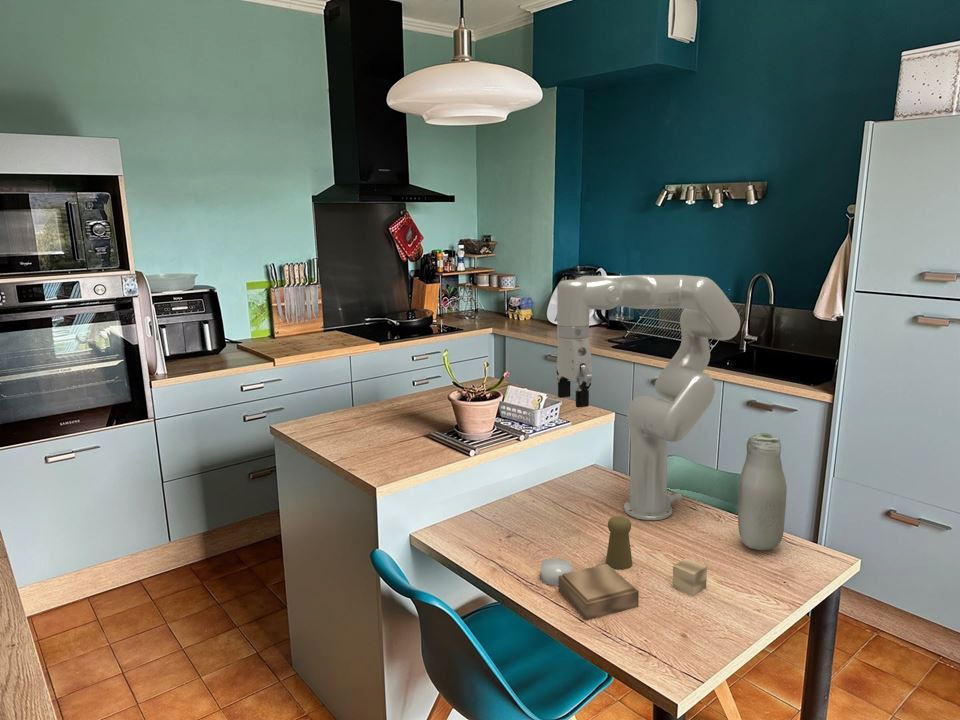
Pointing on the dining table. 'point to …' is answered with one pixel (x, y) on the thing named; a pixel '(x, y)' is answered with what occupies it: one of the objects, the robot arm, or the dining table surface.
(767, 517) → the glass bottle
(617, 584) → the walnut stand
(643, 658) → the dining table surface
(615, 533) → the pepper shaker
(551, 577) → the pale grey dome
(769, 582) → the dining table surface
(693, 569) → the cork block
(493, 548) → the dining table surface
